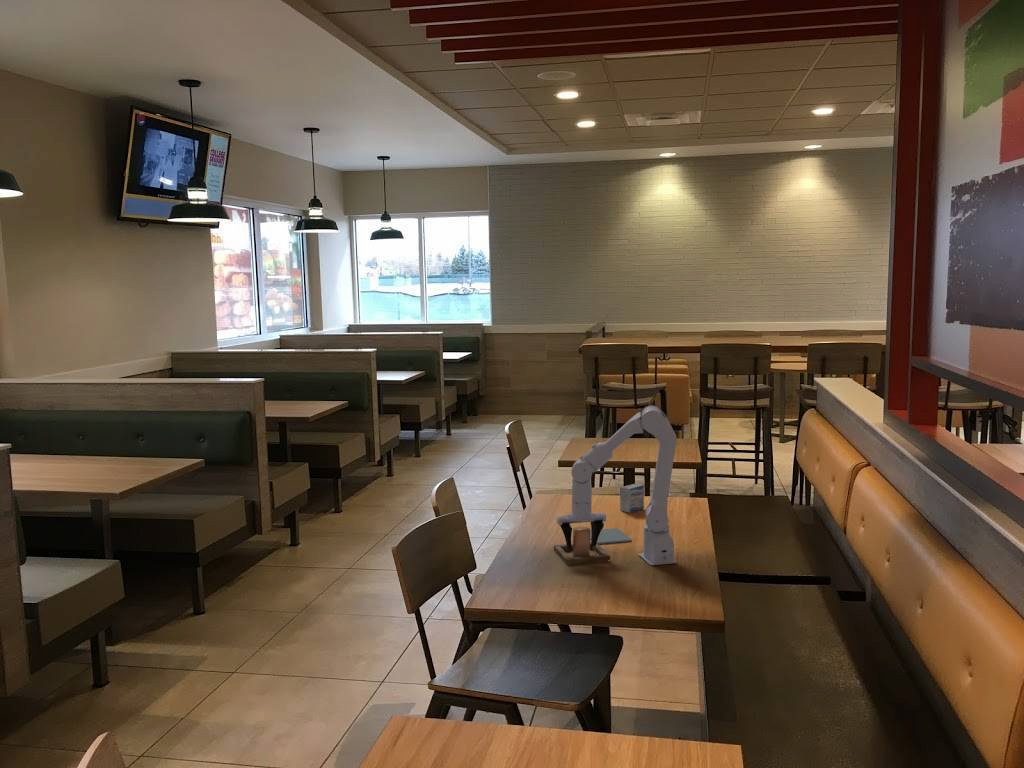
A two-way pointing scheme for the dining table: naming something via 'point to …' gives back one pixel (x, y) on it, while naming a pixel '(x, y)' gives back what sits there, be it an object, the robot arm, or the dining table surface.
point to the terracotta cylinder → (581, 541)
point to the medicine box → (631, 498)
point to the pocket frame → (577, 560)
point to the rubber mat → (611, 536)
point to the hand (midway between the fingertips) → (581, 546)
